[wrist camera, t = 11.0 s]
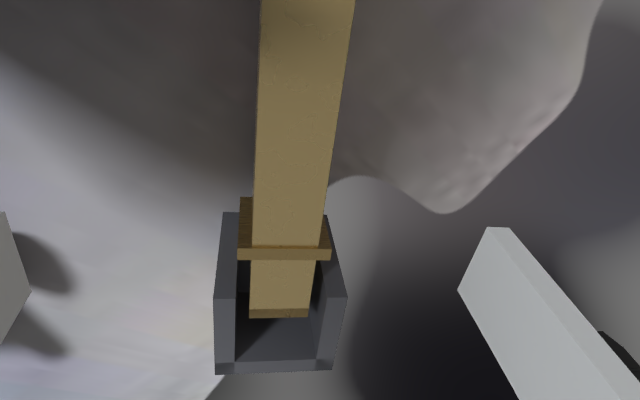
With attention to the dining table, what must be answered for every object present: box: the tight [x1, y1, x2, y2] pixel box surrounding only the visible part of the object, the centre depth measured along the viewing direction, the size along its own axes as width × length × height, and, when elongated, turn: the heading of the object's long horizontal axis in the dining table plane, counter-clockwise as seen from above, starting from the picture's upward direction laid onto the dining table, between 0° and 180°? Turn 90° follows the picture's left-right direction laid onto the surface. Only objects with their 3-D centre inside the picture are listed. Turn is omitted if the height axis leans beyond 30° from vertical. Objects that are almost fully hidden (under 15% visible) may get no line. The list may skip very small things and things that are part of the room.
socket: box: [213, 212, 348, 375], centre depth 35 cm, size 10×8×10 cm
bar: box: [237, 0, 356, 318], centre depth 25 cm, size 6×32×6 cm, turn 173°
